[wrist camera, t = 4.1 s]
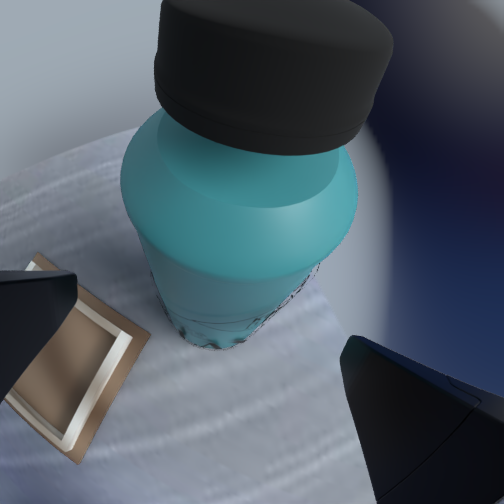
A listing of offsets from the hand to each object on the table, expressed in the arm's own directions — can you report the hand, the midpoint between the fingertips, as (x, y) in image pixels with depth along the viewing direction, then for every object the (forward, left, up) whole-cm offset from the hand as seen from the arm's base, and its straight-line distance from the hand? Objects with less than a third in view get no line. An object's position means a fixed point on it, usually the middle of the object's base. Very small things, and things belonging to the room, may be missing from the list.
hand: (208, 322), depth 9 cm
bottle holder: (-7, +10, -12) cm, 17 cm away
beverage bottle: (+3, +1, -12) cm, 13 cm away
